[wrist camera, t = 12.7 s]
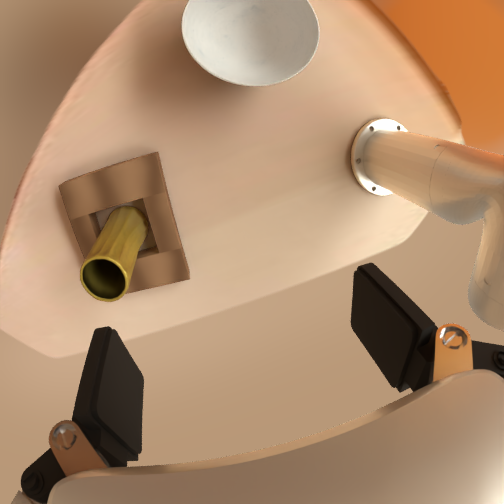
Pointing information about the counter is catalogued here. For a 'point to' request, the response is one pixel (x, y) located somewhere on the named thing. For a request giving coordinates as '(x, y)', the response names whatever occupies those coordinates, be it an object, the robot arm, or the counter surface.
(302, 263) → the counter surface
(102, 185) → the vase stand
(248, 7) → the chinaware
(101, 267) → the vase
